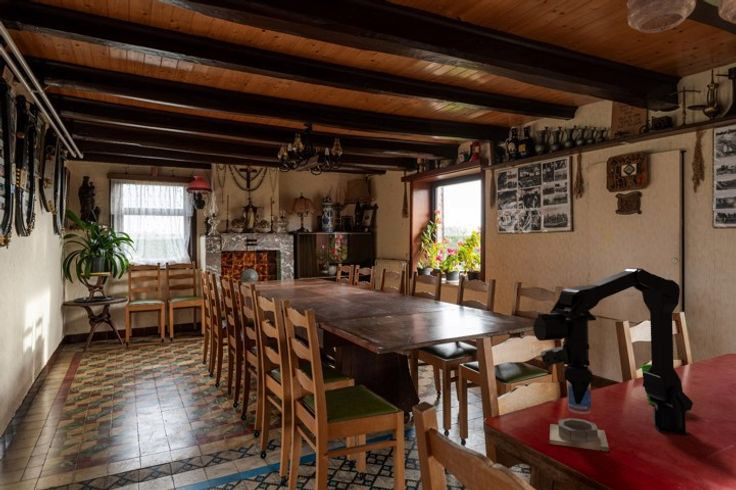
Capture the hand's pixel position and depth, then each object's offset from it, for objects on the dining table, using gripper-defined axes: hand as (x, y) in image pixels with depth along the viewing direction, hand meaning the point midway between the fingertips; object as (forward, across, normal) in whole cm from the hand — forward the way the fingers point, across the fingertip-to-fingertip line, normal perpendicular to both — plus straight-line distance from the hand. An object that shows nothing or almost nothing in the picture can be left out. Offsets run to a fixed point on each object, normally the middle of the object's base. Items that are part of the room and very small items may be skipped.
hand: (577, 400), depth 118 cm
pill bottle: (+3, 0, 0) cm, 3 cm away
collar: (+10, 0, 0) cm, 10 cm away
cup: (+10, -37, +24) cm, 45 cm away
